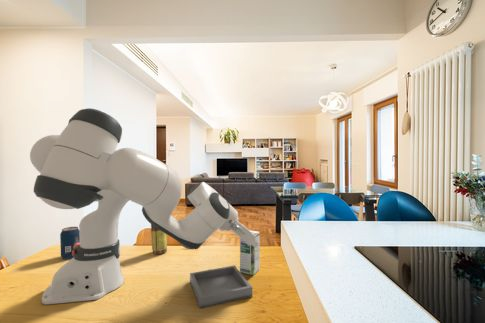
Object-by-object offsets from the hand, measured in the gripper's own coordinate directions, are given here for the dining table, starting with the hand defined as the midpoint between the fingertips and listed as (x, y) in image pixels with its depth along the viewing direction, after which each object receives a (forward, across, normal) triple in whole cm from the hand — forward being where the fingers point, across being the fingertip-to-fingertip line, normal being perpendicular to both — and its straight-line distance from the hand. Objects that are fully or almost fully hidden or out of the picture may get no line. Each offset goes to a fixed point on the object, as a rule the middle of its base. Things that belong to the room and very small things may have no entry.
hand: (251, 241), depth 96 cm
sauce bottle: (-14, +31, +30) cm, 45 cm away
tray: (-3, -8, +18) cm, 20 cm away
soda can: (-38, +40, +54) cm, 78 cm away
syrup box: (+7, 0, +8) cm, 11 cm away
